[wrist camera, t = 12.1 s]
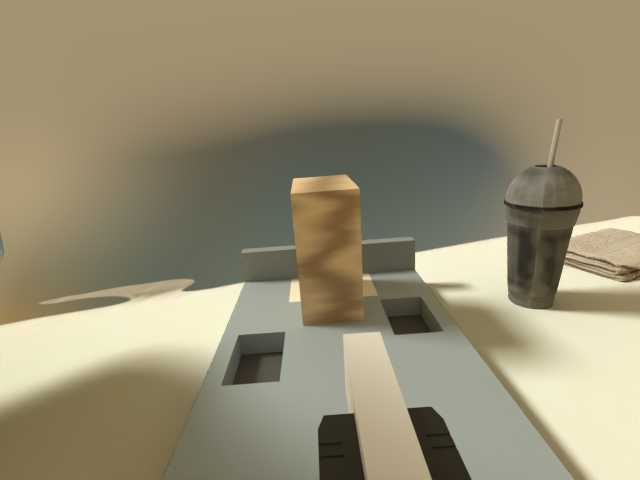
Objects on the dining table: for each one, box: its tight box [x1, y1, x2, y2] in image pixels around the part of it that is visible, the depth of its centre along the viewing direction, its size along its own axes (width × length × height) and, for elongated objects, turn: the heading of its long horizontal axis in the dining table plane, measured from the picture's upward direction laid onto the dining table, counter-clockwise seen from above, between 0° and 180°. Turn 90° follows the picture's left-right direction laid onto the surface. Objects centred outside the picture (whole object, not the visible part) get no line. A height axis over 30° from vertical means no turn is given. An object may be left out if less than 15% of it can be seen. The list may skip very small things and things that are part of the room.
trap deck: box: [163, 237, 574, 480], centre depth 32 cm, size 22×32×6 cm
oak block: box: [291, 175, 364, 326], centre depth 37 cm, size 6×10×13 cm, turn 3°
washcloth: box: [564, 228, 640, 281], centre depth 51 cm, size 12×18×3 cm, turn 115°
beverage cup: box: [504, 119, 583, 309], centre depth 38 cm, size 7×7×20 cm
